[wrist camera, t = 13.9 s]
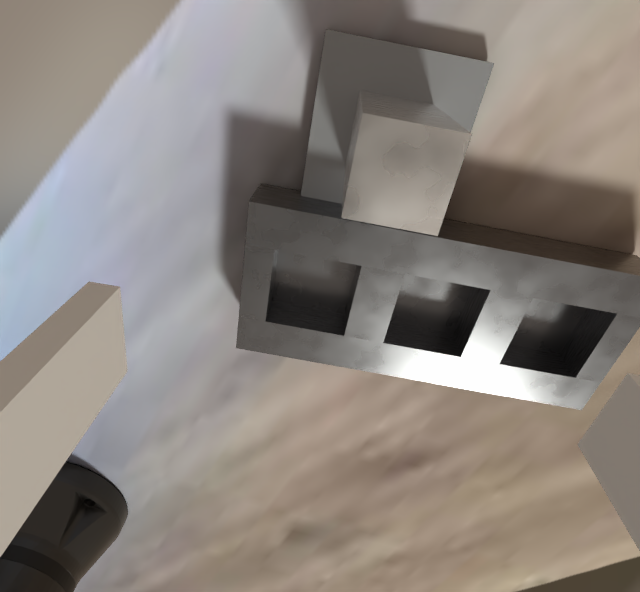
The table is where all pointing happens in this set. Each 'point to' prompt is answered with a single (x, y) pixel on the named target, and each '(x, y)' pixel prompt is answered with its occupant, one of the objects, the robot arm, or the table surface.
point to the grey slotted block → (434, 301)
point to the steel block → (401, 163)
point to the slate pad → (384, 78)
